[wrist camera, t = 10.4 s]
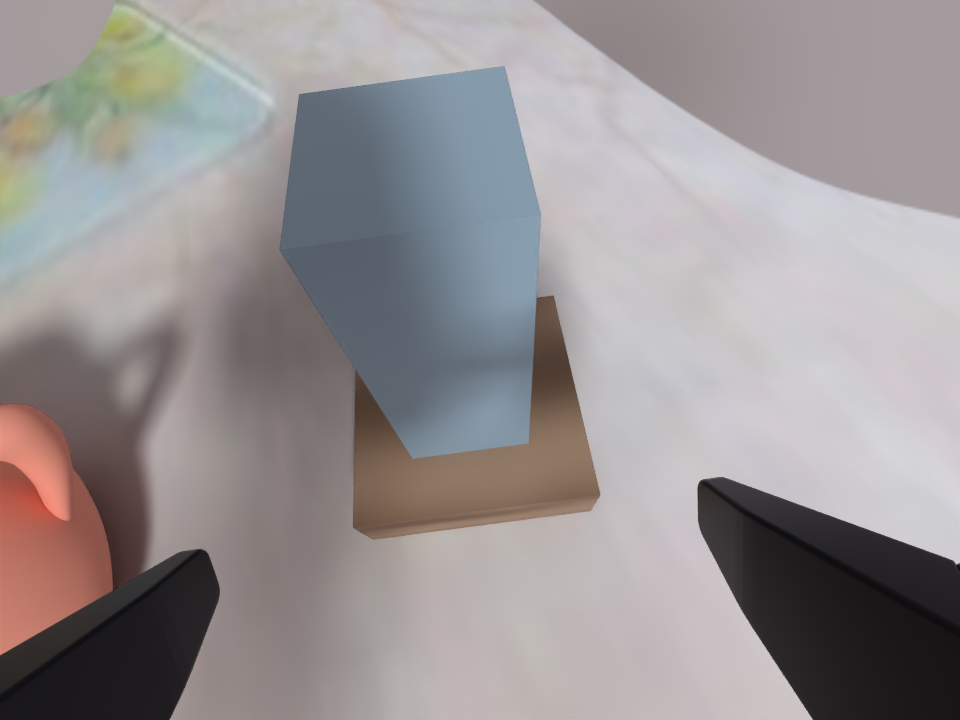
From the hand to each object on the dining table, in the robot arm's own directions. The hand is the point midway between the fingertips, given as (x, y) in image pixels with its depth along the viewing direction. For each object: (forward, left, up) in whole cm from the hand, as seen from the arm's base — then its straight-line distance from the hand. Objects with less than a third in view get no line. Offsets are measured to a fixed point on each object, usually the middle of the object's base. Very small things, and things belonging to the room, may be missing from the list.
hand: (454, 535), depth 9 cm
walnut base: (+5, +6, -14) cm, 16 cm away
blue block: (+5, +6, -11) cm, 13 cm away
